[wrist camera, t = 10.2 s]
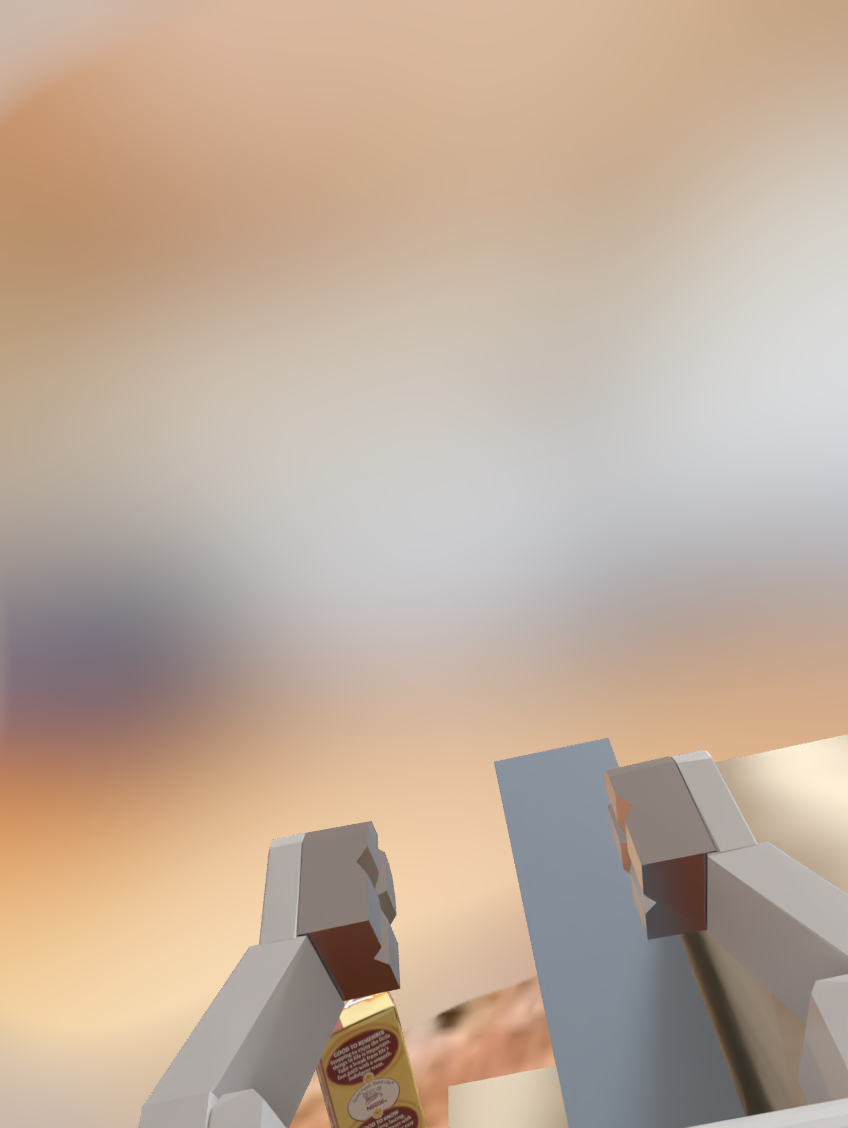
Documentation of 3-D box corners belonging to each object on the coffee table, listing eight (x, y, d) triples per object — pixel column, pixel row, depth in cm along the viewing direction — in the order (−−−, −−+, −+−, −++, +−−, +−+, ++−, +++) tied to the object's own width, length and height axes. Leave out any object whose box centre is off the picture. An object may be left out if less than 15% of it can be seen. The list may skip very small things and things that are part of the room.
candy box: (475, 1302, 36) (402, 1001, 35) (392, 1354, 35) (314, 1041, 34) (415, 1166, 44) (355, 920, 43) (347, 1203, 43) (283, 949, 42)
